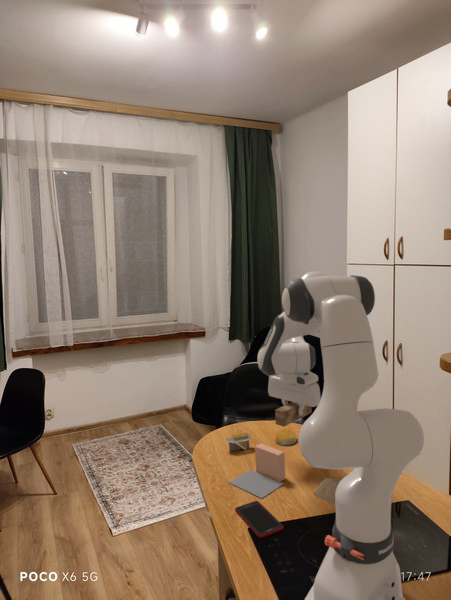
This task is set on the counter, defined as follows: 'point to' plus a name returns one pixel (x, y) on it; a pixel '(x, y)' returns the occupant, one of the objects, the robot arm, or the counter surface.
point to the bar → (290, 413)
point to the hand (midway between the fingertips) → (293, 413)
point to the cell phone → (259, 519)
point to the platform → (239, 441)
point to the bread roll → (285, 437)
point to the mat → (256, 484)
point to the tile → (270, 462)
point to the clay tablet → (327, 490)
